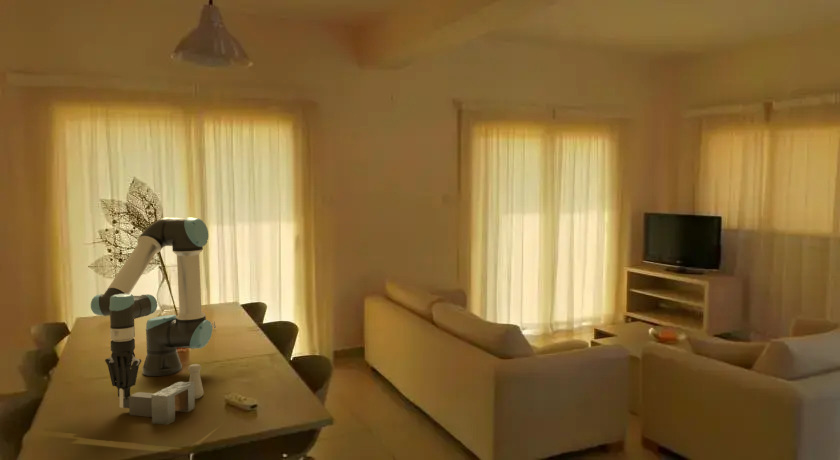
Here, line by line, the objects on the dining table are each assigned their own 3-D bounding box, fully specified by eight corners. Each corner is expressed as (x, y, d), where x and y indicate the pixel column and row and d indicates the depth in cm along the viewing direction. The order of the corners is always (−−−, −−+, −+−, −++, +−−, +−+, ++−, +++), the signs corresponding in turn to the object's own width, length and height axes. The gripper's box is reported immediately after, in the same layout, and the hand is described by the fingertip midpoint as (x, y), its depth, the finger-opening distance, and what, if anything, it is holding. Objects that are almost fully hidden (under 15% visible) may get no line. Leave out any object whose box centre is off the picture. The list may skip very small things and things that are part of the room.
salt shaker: (189, 396, 225) (188, 362, 224) (205, 396, 225) (204, 362, 225) (184, 402, 219) (184, 366, 218) (201, 401, 220) (200, 366, 219)
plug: (121, 414, 207) (121, 395, 207) (131, 409, 211) (130, 391, 211) (165, 418, 203) (164, 399, 203) (173, 413, 207) (173, 394, 207)
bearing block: (152, 423, 198) (151, 394, 198) (179, 407, 213) (179, 381, 213) (168, 424, 197) (167, 396, 197) (194, 409, 212) (194, 382, 211)
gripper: (98, 340, 206) (100, 408, 207) (131, 342, 203) (133, 411, 204) (114, 335, 213) (116, 401, 214) (146, 337, 210) (147, 404, 211)
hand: (124, 406), depth 209 cm, fingers closed
